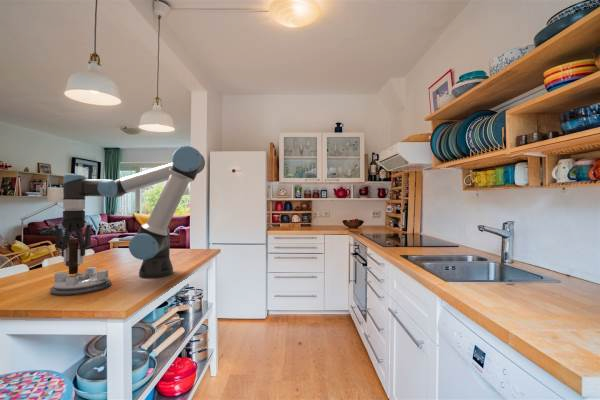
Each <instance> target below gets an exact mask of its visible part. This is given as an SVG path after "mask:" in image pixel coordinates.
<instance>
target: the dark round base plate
mask: <svg viewBox="0 0 600 400" xmlns="http://www.w3.org/2000/svg"><path fill="white" fill-rule="evenodd" d="M111 285H112V280H111V279H109V278H108V282H107V283H105V284H103V285H100V286H96V287H92V288H87V289H80V290H69V291H61V290H55V289H54V288H53V286H52V287H50V288H49V294H50V295H51V296H57V297H69V296H70V297H71V296H78V295H79V296H80V295H86V294H90V293H96V292H99V291H102V290H105V289H107V288H109V287H111Z"/></svg>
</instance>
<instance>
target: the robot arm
mask: <svg viewBox="0 0 600 400" xmlns="http://www.w3.org/2000/svg"><path fill="white" fill-rule="evenodd" d="M171 158H172V160H171V161H172V162H170V163H166V164H163V165H160V166H157V167H154V168H150V169H147V170H143V171H141V172H137V173H135V174H132V175H128V176H123V177H121V178H119V179H107V178H103V179H100V178H98V179H97V178H96V179H95V178H93V179H92V178H91V179H90V178H87V177H86V175H85V174H81V173H65V174H64V175H63V181H62V185H63V186H62V187H63V188H62V189H63V191H62V194H63V197H62V198H63V199H62V200H63V201H62V209H63V211H62V222H61V223H59V224H55V225H54V226H53V227H54V230H55V248H56V249H61V257H62V258H63V266H66V262H68V261H69V243H65V240H66V239H71V235H72V233H73V232H75V235H76V238H78V239H79V246H78V266H80V265H82V264H83V263H84V257H85V256H86V249H87V248H89V247H91V246H92V244H91V243H92V229H93V226H94V225H93V224H92V223H87V222H86V211H85V209H86V197H103V198H104V197H107V198H120V197H123V196H124V195H125V194H129V193H133V192H134V191H138V190H141V189H145V188H146V187H150V186H154V185H156V184H159V183H160V184H161V183H163V182H166V183H165V184H164V187H163V188H162V191H161V193H160V195H159V197H158V199H157V201H156V203H155V205H154V207H153V209H152V211H151V213H150V216H149V217H148V220H147V221H146V222H144V223H143V224H141V225H140V227H139V229H138V231H137V233H136V234H135V235H134V236H133V237H132V238H131V239H130V240H129V243H128V251H129V253H130V254H131V256H133V258H135V259H137V260H141V261H142V262H141V264H140V268H139V271H138V277H140V278H144V279H153V278H154V279H155V278H163V277H167V276H170V275H172V274H173V273H174V267H173V264H172V261H171V258H170V249H171V248H170V247H171V245H170V244H171V243H170V242H171V239H170V237H171V233H170V232H171V230H170V228H169V224H170V222H171V220H172V218H173V216H174V214H175V213H176V210H177V208H178V207H179V204H180V202H181V200H182V198H183V195H184V193H185V192H186V190H187V187H188V186H189V184H190V183H191V182H194V181H195V179H196V177H197V175H198V174H200V173H201V172H202V171H203V170H204V169H205V166H206V160H205V157H204V156H203V155H202V154H201V152H200V151H199V150H198V149H196V148H195V147H192V146H189V145H183V146H179V147H178V148H177V149H176V150H174V152H173V154H172V157H171ZM63 228H64V229H65V230H64V232H63ZM84 228H85V229H84ZM83 229H84V230H85V231H84V230H83ZM63 233H64V235H63ZM83 234H84V235H83Z"/></svg>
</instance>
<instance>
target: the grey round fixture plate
mask: <svg viewBox="0 0 600 400" xmlns="http://www.w3.org/2000/svg"><path fill="white" fill-rule="evenodd" d="M84 270H85V272H80V273H79V272H78V273H77V274H72V275H68V274H69V271H58V272H56V273H54V282H53V286H52V287H53V288H54V289H55V290H61V291H69V290H80V289H87V288H92V287H96V286H100V285H103V284H105V283H107V282H108V279H109V269H100V270H98V271H97V266H88V267H86V268H85V269H84Z"/></svg>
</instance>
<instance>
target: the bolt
mask: <svg viewBox="0 0 600 400" xmlns="http://www.w3.org/2000/svg"><path fill="white" fill-rule="evenodd" d="M65 243H69V244H68V249H69V261H68V262H66V265H65V266H66V267H68V274H69V275H75V274H79V265H78V249H79V247H80V246H79V239H78V238H77V237H75V238H70V239H66V240H65Z"/></svg>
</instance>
